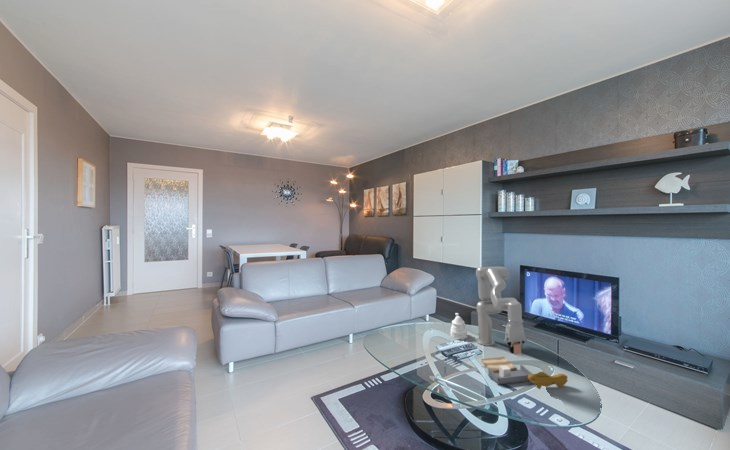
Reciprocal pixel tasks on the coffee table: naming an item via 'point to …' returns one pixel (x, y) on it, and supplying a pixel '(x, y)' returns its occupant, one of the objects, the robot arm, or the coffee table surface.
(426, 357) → the coffee table surface
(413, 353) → the coffee table surface
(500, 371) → the cream block
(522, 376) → the box
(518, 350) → the terracotta block
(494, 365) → the board
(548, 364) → the coffee table surface
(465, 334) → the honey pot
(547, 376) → the decorative fish
